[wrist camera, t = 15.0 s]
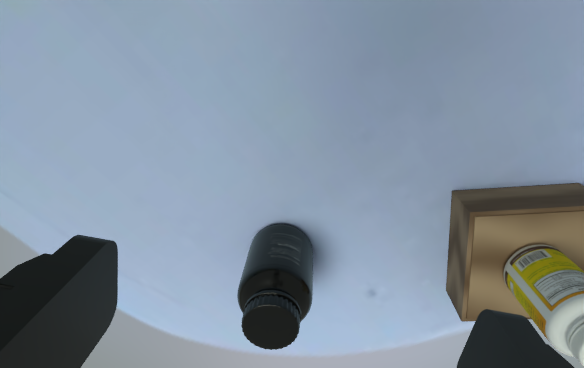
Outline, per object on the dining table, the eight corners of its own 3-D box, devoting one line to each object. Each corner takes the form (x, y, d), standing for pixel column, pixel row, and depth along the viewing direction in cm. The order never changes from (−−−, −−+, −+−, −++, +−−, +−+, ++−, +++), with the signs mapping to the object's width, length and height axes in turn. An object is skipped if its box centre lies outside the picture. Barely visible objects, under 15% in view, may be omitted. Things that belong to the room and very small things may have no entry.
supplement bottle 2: (543, 299, 37) (622, 392, 28) (489, 282, 37) (550, 370, 27) (577, 251, 35) (674, 333, 26) (520, 233, 35) (597, 309, 25)
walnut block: (452, 190, 39) (471, 213, 34) (578, 182, 38) (616, 205, 33) (446, 290, 44) (462, 322, 39) (559, 285, 42) (590, 318, 38)
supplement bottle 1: (238, 246, 43) (210, 322, 32) (283, 209, 41) (271, 276, 30) (280, 286, 45) (268, 371, 34) (326, 253, 43) (329, 331, 32)
